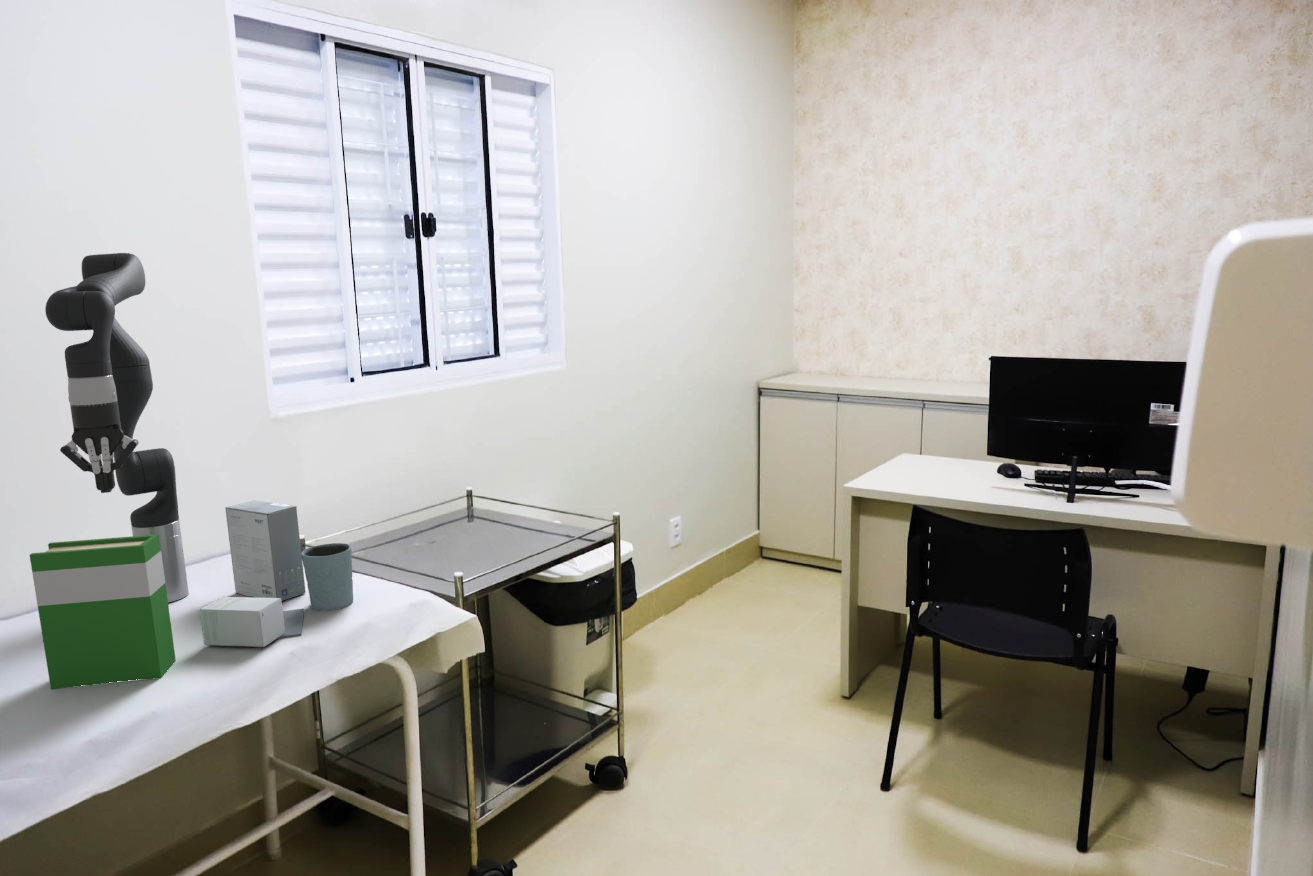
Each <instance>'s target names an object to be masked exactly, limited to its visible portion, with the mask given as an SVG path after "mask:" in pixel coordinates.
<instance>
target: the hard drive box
mask: <svg viewBox="0 0 1313 876" xmlns="http://www.w3.org/2000/svg"><path fill="white" fill-rule="evenodd" d="M225 517H226V523H227V524H226V525H227V533H228V540H229V550H230V558H231V565H232V566H231V567H232V572H233V573H232V574H233V581H234V590H235V593H236V594H239V595H244V596H246V595H247V596H246V597H252V598H281V601H283V602H284V601H286V600H288V599H292V598H295V597H297V596H300V595H303V594H305V593H306V592H307V591H306V582H305V576H304V575H305V571H304V566H303V561H302V556H301V553H302V548H301V547H302V546H301V537H300V528H299V520H298V510H297V505H292V504H291V505H289V504H284V503H283V504H282V503H277V502H268V501H261V500H251V501H247V502H242V503H238V504H234V505H229V506H226V507H225Z"/></svg>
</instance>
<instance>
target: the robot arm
mask: <svg viewBox="0 0 1313 876" xmlns="http://www.w3.org/2000/svg"><path fill="white" fill-rule="evenodd" d="M81 276H82V281H80V282H79V283H78V284H77V285H75V286H70V287H67V288H63V289H62V288H61V289H59V290H56V291H54V292H53V293H51V295H50V296H49V297H48V299H47V301H46V303H45V311H44V312H45V316H46V319H47V321H48V323H49V324H50V325H51V326H53V327H54V328H56V329H57V330H60V331H65V332H75V331H76V332H77V331H93V333H92V335H91V338H90V339H89V340H87V341H84V342H79V343H76V344H72V345H69V346H67V347H66V348H64V349H65V350H64V360H65V366H66V367H65V368H66V373H67V381H68V382H67V383H68V384H67V391H68V392H67V393H68V402H69V407H70V413H71V420H72V426H73V432H72V434H71V440H70V441H69V442H68V443H67V444H65V445H63V446H62V447H60V449H59V450H60V453H62V454H63V455H64V456H65V457H67V459H69V461H71V462H72V463H73V464H74V465H75V466H77V467H78V468H79V469H80V470H82V472H89V473H92V474H93V475H94V480H95V486H96V487H95V488H96V489H97V491H100V493H101V494H104V493H107V494H108V493H111V492H112V491H113V490H114V488H115V486H116V481H117V485H118V487H119V490H120V492H121V494H123V495H124V496H127V497H128V496H129V497H130V496H135V495H136V496H137V495H143V494H148V493H155V492H156V494H155V496H154V497H153V498H152V499H151V500H150V501H149V502H147V503H145V504H144V505H142V506H140V507H138V508H136V509H134V510H133V511H132V512H131V514H130V518H129V519H130V525H131V526H130V527H131V534H132V536H144V535H158V534H159V539H160V547H161V554H162V562H163V569H164V577H165V584H166V591H167V599H168V603H171V602H175V601H178V600H181V599H183V598H186V597H187V596H188V595H189V594H190V593H189V592H190V591H189V585H188V578H187V570H186V569H187V568H186V562H185V561H186V560H185V552H184V545H183V538H182V531H181V523H180V515H179V503H178V494H177V477H176V466H175V462H174V457H173V456H172V454H171V452H170V450H168V449H167V448H164V447H163V448H151V449H144V450H137V451H134V450H135V449H136V448H137V447H138V445H139V444H140V443H139V440H138V439H133V438H134V433H135V429H136V427H137V424H138V421H140V420H139V419H140V417H141V415H142V414H143V412H144V410H145V408H146V406H147V404H148V403H149V401H150V398H151V396H152V393H153V390H154V389H153V388H154V382H153V376H152V370H151V366H150V359H149V357H148V354H147V353H146V352H145V351H144V350H143V348H142V347H141V346H140V345H139V343H137V342H136V341H135V340H134V338H133V337H131V336H130V335H129V333H128V332H126V330H125V329H124V328H123V327H122V325H121V324H120V323H119V321H118V320H117V319H116V316H115V315H116V306H117V305H118V304H120V303H121V302H123V301H125V300H128V299H130V298H132V297H134V296H138V295H140V294H142V293H143V292H144V290H145V288H146V274H145V269H144V266H143V263H142V261H141V259H140V258H139V257H138V256H137V255H135V254H133V253H129V252H117V253H116V252H113V253H101V254H100V253H99V254H98V253H97V254H89V255H85V256H84V257H83V258H82V261H81ZM79 449H80V450H82V452H84V453H85V454H86V455H88V459H89V460H87V458H85V457H84V456H83V455H81V454H80V453H79ZM114 472H115V473H114ZM115 477H116V481H115Z"/></svg>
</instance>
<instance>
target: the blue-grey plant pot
mask: <svg viewBox="0 0 1313 876" xmlns="http://www.w3.org/2000/svg"><path fill="white" fill-rule="evenodd" d="M352 555H353V554H352V545H351V544H349V543H340V542H338V543H334V542H333V543H325V544H319V545H314V546H310V547H308V548H305V549H304V550H301V556H302V563H303V571H304V575H305V580H306V583H307V589H308V595H309V602H310V606H311V609H312V610H316V611H321V610H325V611H327V610H328V611H334V610H339V609H338V608H340V609H343V608H346V607H349V606H350V605H351V604H353V602H354V587H353V586H354V585H353V584H354V582H353V558H352ZM349 604H350V605H349Z"/></svg>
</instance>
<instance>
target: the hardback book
mask: <svg viewBox="0 0 1313 876" xmlns="http://www.w3.org/2000/svg"><path fill="white" fill-rule="evenodd" d="M47 546H48V550H46V551H44V552H43V551H42V552H32V553H30V554H29V560H30V567H31V573H32V579H33V586H34V592H35V597H36V604H37V610H38V611H37V612H38V618H39V624H40V628H41V629H40V630H41V635H42V642H43V649H44V654H45V659H46V668H47V674H48V681H49V686H50V689H51V690H57V689H67V688H68V687H69V688H74V687H73V686H79V687H82V686H81V685H89V686H94V685H93V684H99V685H102V684H101V683H109V682H117V681H128V680H136V679H137V680H138V679H149V680H154V679H153V678H159V679H162V678H164V676H165V675H164V674H166V673H168V671H169V670H170V669H171V668H172V666H173V665H174V664H175V663H176V662H175V661H177V660H176V651H175V646H174V645H175V643H174V638H173V630H172V622H171V621H172V620H171V614H170V608H169V607H170V606H169V602H168V599H167V591H166V584H165V577H164V569H163V562H162V554H161V547H160V539H159V534H158V535H144V536H133V535H132V536H120V537H119V536H118V537H109V538H108V537H107V538H95V539H94V538H92V539H83V540H70V541H69V540H68V541H55V542H53V541H52V542H49V543H48V544H47ZM174 662H175V663H174ZM173 663H174V664H173ZM170 667H171V668H170ZM169 668H170V669H169ZM167 670H168V671H167ZM109 684H110V683H109Z"/></svg>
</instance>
